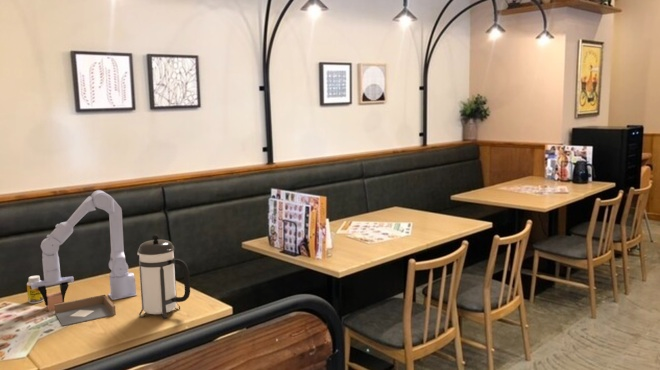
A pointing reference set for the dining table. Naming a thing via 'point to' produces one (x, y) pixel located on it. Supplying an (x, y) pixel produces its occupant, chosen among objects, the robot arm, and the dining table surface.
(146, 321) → the dining table surface
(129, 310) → the dining table surface
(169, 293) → the coffee press
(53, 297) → the cube
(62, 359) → the dining table surface
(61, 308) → the tray
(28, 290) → the supplement bottle
